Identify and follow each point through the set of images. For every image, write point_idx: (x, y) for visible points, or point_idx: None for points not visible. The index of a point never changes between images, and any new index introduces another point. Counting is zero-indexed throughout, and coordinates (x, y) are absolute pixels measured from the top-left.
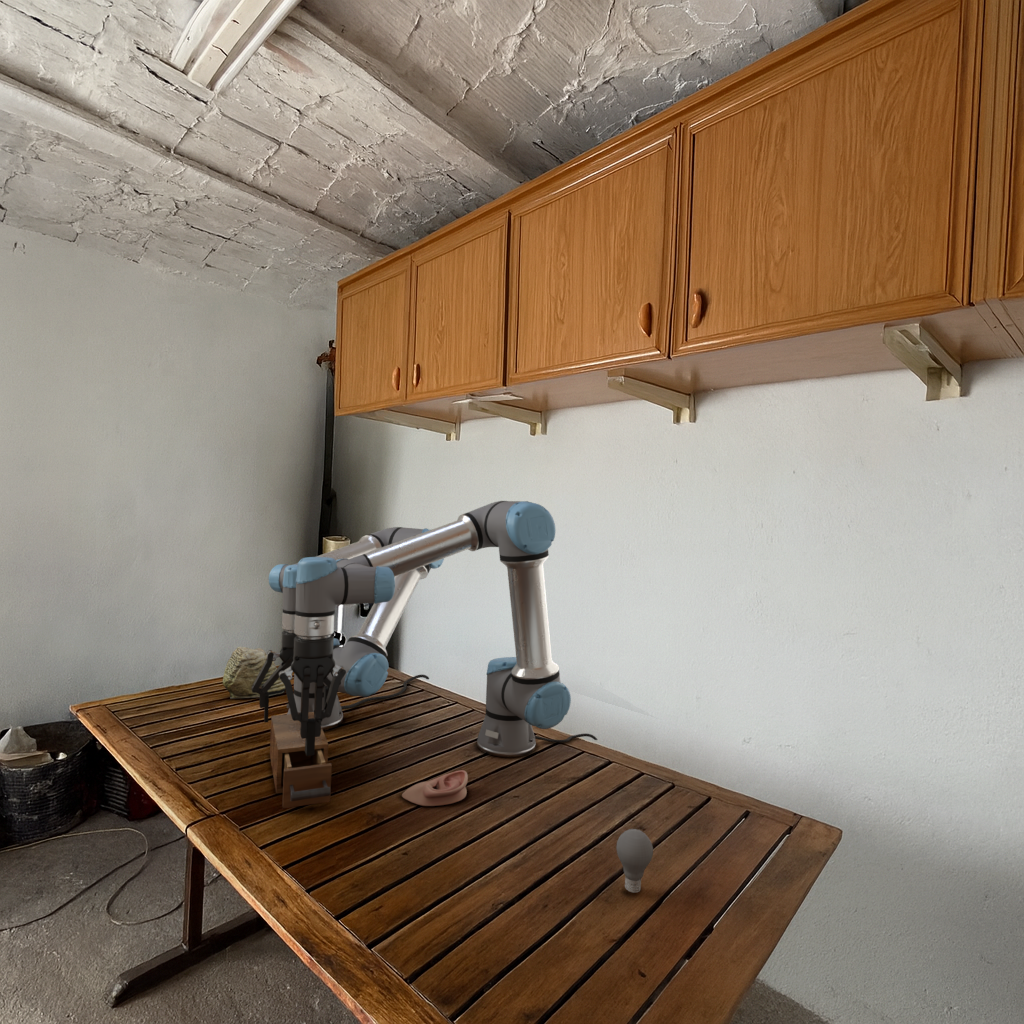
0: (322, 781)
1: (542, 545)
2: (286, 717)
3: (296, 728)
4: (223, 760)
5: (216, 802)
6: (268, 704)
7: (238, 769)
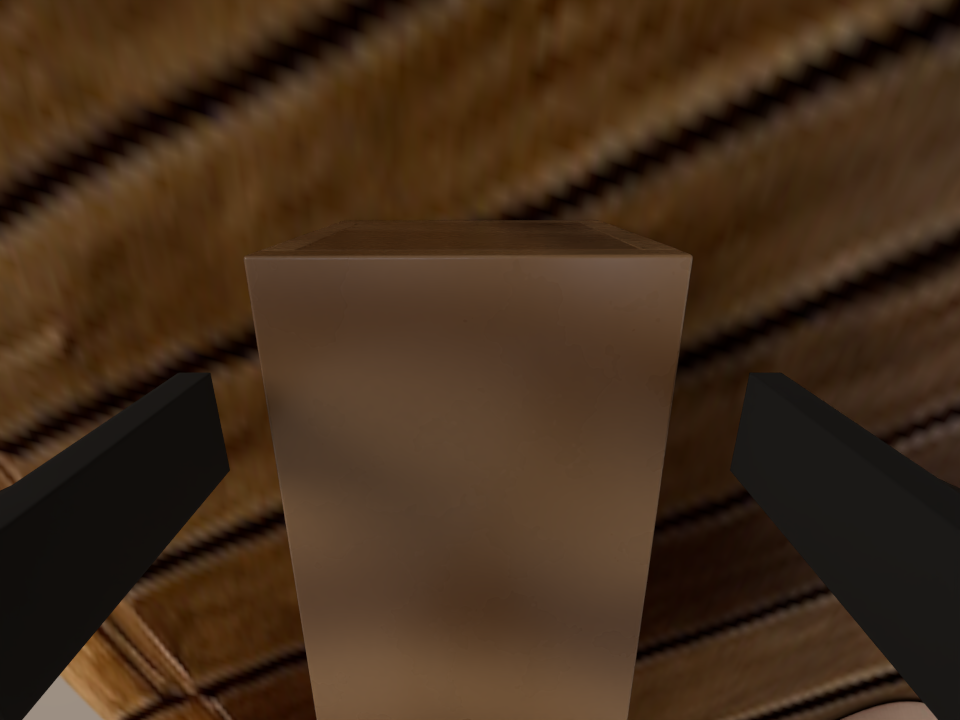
0: None
1: None
2: (393, 346)
3: (460, 605)
4: (87, 222)
5: (168, 628)
6: (119, 602)
7: (196, 368)
